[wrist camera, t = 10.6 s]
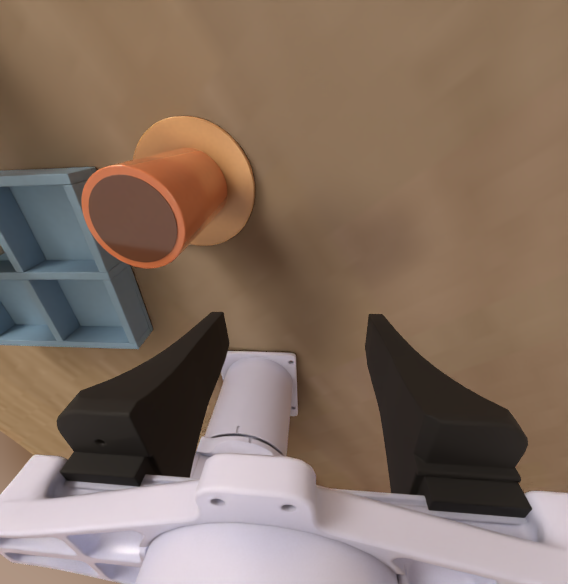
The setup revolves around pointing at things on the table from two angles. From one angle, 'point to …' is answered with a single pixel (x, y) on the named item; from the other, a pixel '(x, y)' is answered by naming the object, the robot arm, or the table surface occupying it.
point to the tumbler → (153, 205)
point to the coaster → (226, 156)
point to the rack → (61, 269)
